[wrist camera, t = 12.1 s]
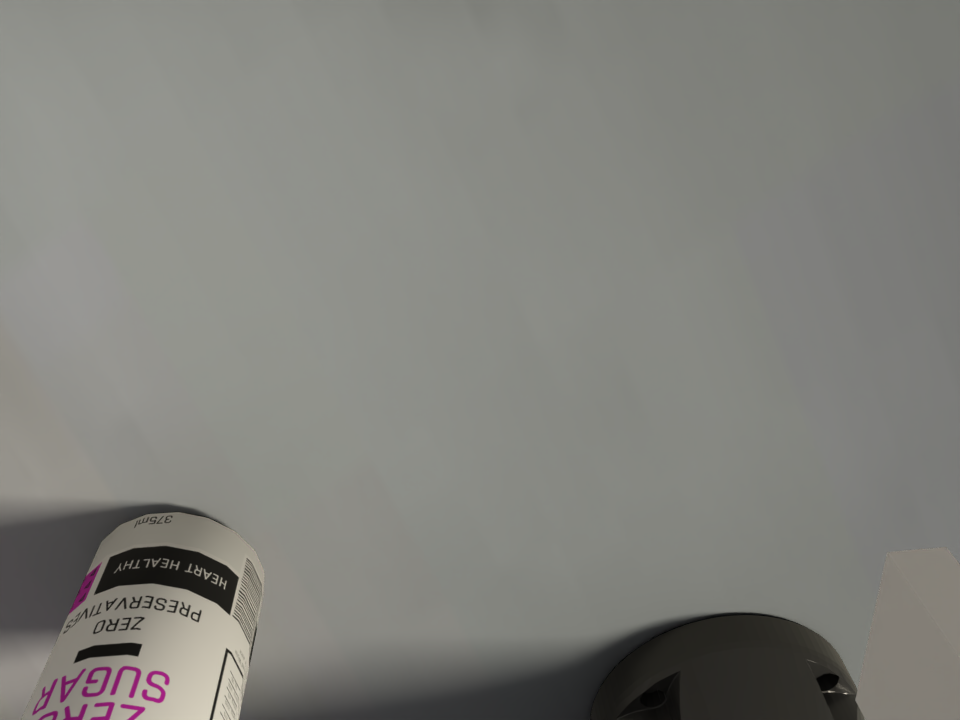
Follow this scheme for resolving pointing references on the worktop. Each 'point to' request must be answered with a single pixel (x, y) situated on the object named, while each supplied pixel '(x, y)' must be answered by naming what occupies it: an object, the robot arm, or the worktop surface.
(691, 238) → the worktop surface
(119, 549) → the supplement can
